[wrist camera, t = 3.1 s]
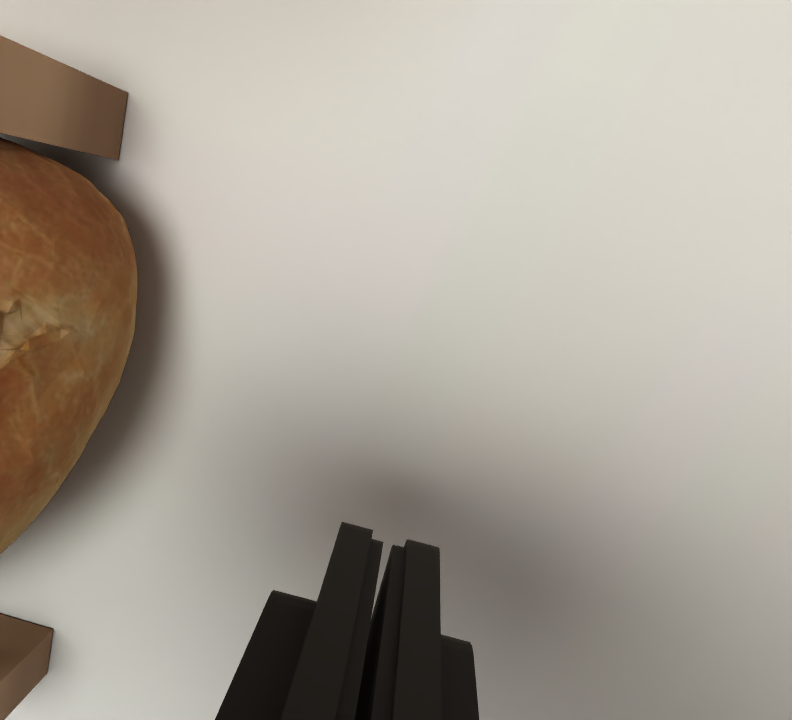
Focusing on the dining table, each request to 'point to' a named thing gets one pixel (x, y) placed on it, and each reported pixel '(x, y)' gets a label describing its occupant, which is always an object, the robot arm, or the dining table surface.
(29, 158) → the bread roll
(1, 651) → the channel
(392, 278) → the dining table surface
